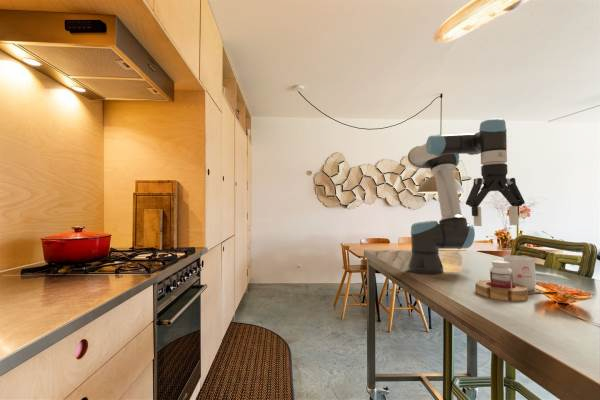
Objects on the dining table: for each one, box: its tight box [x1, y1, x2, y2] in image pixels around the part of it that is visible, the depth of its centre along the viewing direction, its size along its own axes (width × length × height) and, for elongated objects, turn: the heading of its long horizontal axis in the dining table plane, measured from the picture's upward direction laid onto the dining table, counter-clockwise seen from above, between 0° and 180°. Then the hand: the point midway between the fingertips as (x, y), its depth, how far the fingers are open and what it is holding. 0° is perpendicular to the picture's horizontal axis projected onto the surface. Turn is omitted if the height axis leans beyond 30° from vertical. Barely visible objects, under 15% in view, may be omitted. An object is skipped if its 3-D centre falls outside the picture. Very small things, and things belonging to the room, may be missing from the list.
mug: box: [503, 255, 537, 292], centre depth 103 cm, size 12×9×11 cm
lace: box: [527, 290, 541, 295], centre depth 96 cm, size 1×12×1 cm, turn 96°
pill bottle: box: [489, 260, 513, 289], centre depth 95 cm, size 6×6×11 cm
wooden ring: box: [474, 279, 528, 302], centre depth 95 cm, size 14×14×3 cm
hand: (495, 225), depth 97 cm, fingers open, 13 cm apart
